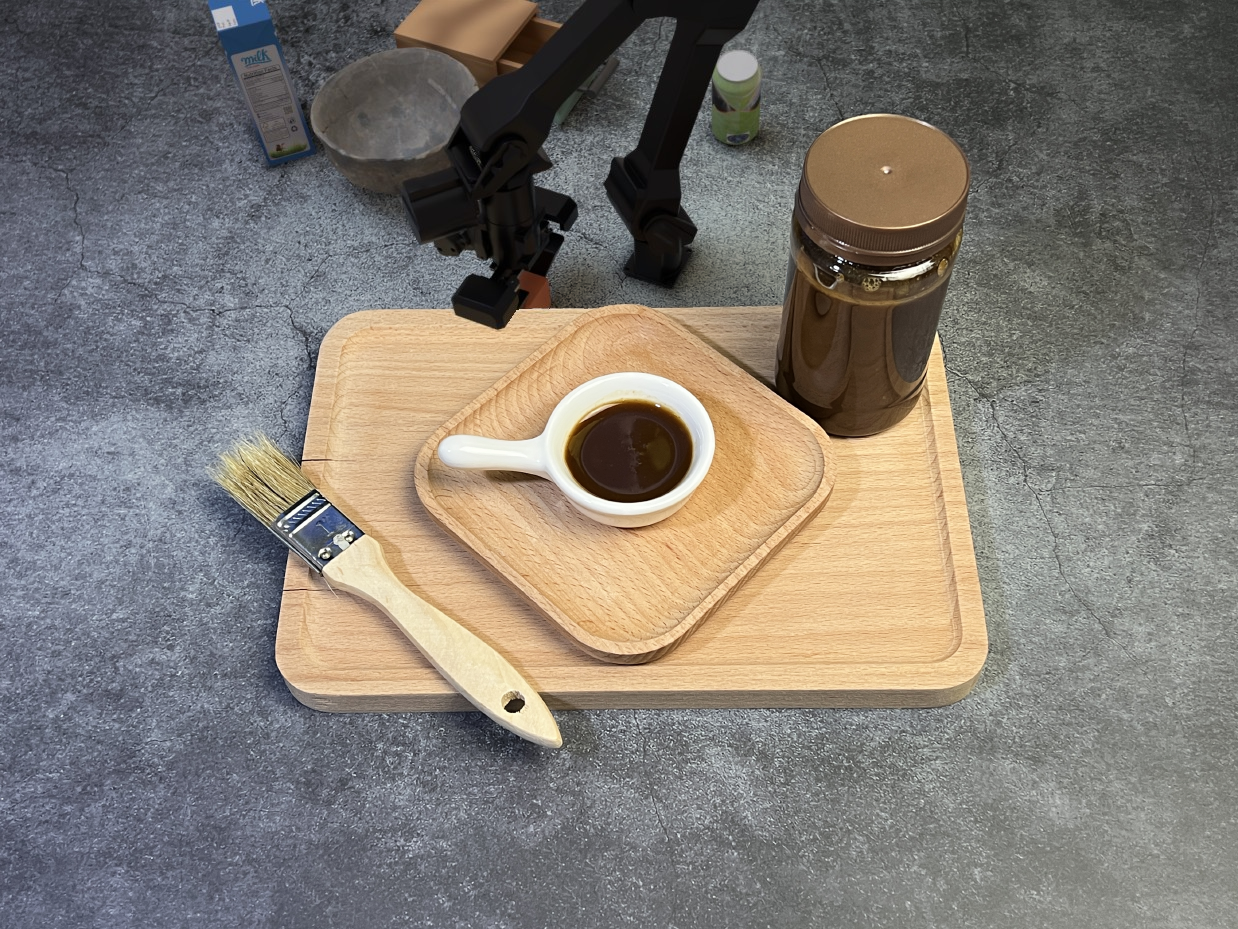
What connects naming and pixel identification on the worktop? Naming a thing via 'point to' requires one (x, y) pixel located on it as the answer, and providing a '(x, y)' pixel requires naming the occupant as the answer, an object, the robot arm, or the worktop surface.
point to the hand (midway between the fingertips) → (524, 306)
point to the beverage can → (736, 97)
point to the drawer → (531, 42)
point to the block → (535, 290)
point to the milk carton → (263, 78)
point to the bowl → (391, 116)
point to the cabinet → (467, 30)
